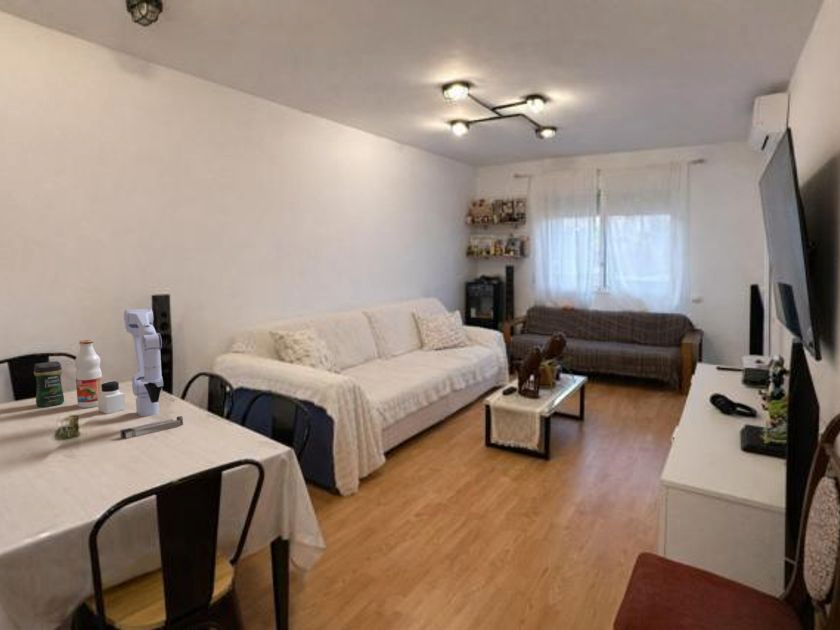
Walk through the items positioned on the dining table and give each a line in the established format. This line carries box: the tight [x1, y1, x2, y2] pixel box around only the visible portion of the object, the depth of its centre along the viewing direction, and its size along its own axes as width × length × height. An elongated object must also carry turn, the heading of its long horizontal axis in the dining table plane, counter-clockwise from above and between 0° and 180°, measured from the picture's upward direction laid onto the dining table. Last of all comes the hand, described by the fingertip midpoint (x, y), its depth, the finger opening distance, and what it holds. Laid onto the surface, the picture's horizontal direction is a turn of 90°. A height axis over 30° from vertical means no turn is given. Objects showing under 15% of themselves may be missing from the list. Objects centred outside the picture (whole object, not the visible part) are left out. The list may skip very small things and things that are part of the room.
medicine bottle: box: [97, 380, 126, 415], centre depth 206 cm, size 7×7×12 cm
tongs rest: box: [123, 415, 184, 440], centre depth 180 cm, size 18×22×4 cm
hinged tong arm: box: [119, 418, 174, 439], centre depth 178 cm, size 17×2×2 cm, turn 136°
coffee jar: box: [33, 360, 65, 408], centre depth 213 cm, size 10×8×19 cm
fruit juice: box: [74, 339, 104, 409], centre depth 212 cm, size 9×9×28 cm
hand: (154, 402), depth 186 cm, fingers closed
